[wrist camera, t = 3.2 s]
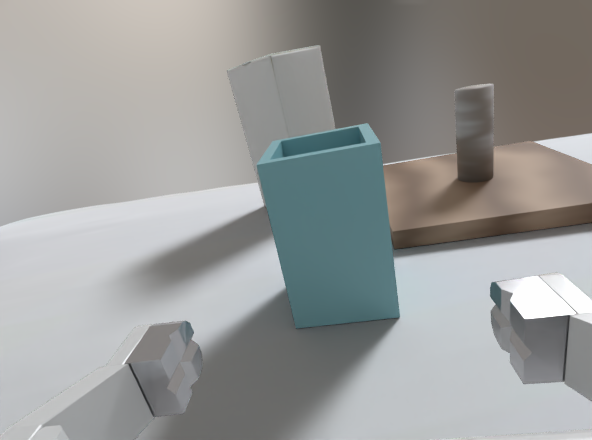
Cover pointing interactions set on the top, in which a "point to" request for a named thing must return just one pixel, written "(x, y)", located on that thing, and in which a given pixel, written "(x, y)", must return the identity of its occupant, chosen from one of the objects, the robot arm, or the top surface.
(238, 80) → the skincare box
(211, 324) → the top surface
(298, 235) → the teal pencil cup
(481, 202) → the base
